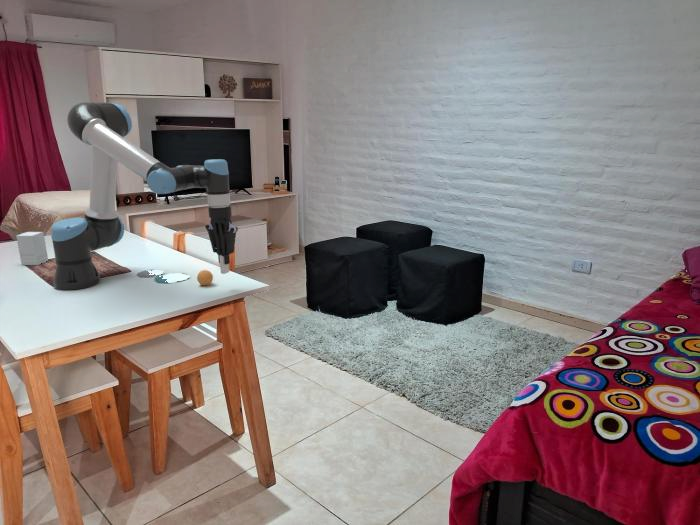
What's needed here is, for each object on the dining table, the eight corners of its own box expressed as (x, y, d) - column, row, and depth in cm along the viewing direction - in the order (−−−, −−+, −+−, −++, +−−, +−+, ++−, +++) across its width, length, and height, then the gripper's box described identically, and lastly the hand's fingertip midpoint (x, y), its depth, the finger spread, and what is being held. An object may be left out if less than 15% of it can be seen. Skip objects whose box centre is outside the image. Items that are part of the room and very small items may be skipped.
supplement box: (49, 260, 227) (44, 231, 224) (37, 265, 220) (32, 235, 217) (32, 260, 228) (27, 231, 224) (20, 265, 221) (15, 235, 217)
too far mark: (149, 278, 202) (149, 278, 202) (131, 275, 206) (131, 274, 206) (169, 272, 210) (169, 271, 210) (152, 268, 215) (152, 268, 215)
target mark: (171, 285, 194) (171, 284, 194) (146, 280, 200) (146, 279, 200) (197, 276, 205) (197, 275, 205) (173, 271, 211) (173, 270, 211)
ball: (205, 288, 191) (204, 273, 189) (194, 285, 193) (193, 271, 192) (216, 284, 195) (215, 269, 194) (205, 281, 198) (204, 267, 196)
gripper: (241, 205, 182) (246, 272, 188) (213, 203, 188) (218, 267, 194) (226, 208, 175) (231, 278, 182) (197, 206, 182) (203, 273, 188)
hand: (225, 272), depth 188 cm, fingers closed
